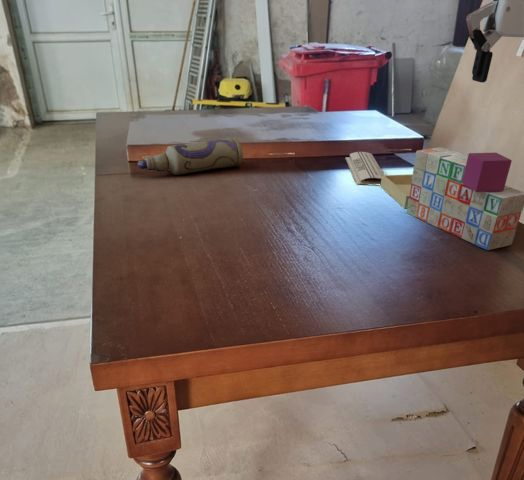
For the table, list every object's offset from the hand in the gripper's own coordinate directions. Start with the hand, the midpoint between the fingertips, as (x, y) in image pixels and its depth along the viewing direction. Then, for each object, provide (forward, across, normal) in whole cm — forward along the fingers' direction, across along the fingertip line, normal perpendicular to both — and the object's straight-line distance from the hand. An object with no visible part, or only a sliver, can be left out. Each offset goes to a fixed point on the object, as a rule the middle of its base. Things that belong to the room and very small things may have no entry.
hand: (508, 81), depth 80 cm
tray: (+26, 0, -25) cm, 35 cm away
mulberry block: (+16, 0, 0) cm, 16 cm away
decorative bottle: (+26, +47, -49) cm, 73 cm away
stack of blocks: (+26, 0, -6) cm, 26 cm away
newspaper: (+26, +5, -45) cm, 52 cm away
